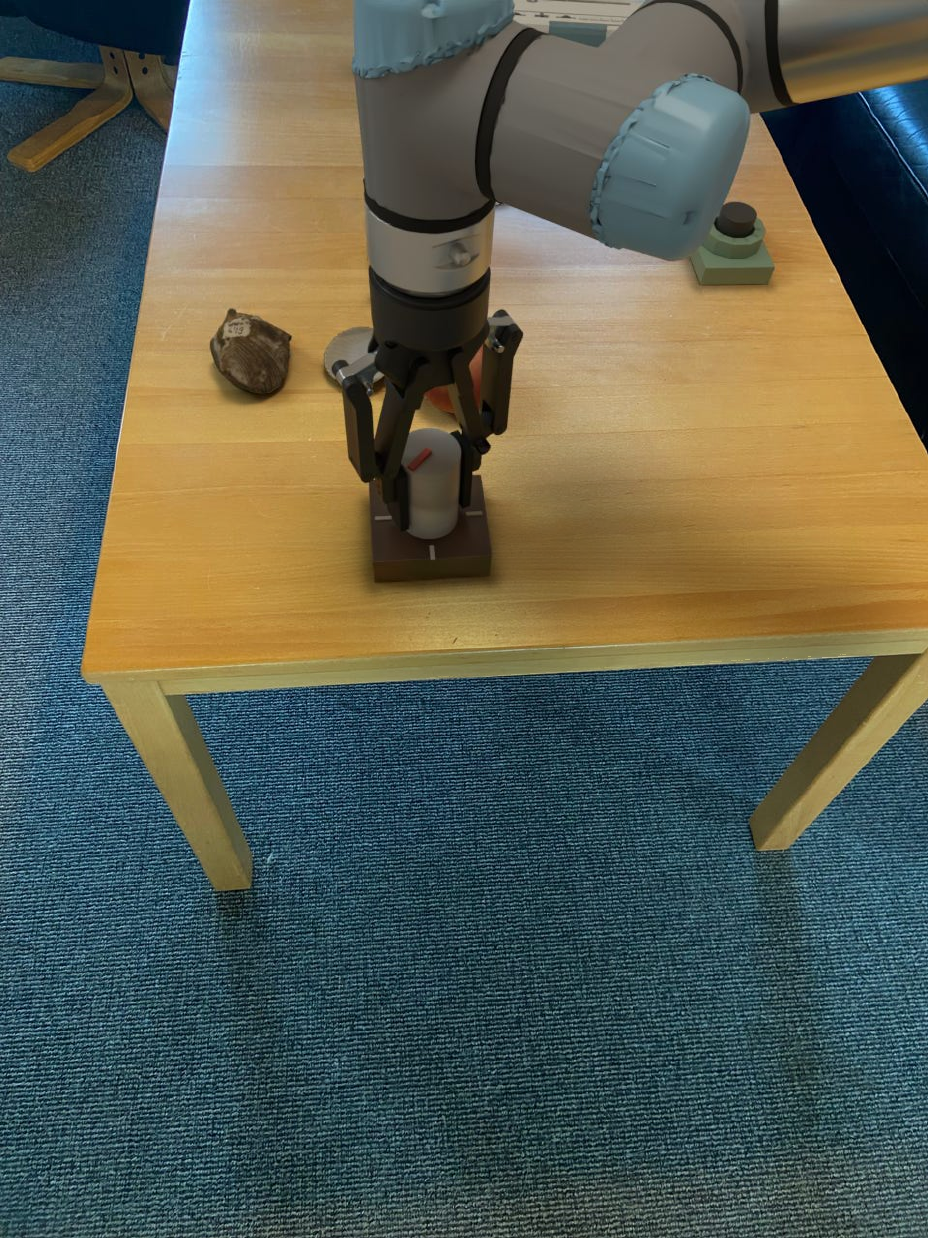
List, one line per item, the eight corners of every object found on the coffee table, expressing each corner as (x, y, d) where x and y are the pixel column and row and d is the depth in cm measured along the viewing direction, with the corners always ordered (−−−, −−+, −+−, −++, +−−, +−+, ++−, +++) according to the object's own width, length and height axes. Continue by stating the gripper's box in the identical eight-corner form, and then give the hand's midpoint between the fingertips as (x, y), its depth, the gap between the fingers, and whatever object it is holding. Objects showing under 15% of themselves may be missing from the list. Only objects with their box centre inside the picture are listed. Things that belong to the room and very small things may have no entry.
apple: (449, 359, 86) (451, 293, 79) (510, 395, 83) (517, 330, 77) (398, 400, 82) (395, 334, 76) (459, 439, 80) (462, 375, 73)
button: (755, 239, 93) (761, 222, 91) (720, 239, 93) (726, 222, 91) (745, 217, 95) (751, 200, 93) (711, 218, 95) (717, 201, 93)
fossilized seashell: (223, 307, 85) (190, 385, 81) (242, 271, 80) (207, 352, 76) (290, 345, 88) (261, 421, 84) (313, 312, 83) (283, 392, 79)
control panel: (479, 495, 76) (481, 472, 74) (490, 577, 72) (492, 555, 69) (370, 500, 76) (368, 477, 73) (374, 583, 71) (372, 562, 68)
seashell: (326, 363, 87) (333, 401, 82) (317, 336, 85) (324, 374, 80) (401, 342, 88) (413, 379, 82) (395, 315, 85) (406, 351, 80)
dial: (422, 485, 73) (422, 415, 66) (469, 511, 72) (474, 443, 64) (387, 520, 71) (383, 453, 64) (435, 549, 69) (436, 482, 62)
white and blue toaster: (484, 134, 109) (494, -50, 92) (485, 101, 113) (495, -80, 96) (642, 143, 109) (682, -39, 92) (637, 110, 114) (674, -69, 97)
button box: (768, 283, 95) (781, 252, 91) (700, 285, 94) (710, 253, 91) (745, 230, 100) (757, 199, 96) (681, 231, 99) (690, 199, 96)
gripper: (314, 342, 46) (347, 578, 66) (588, 259, 51) (543, 502, 71) (266, 265, 50) (312, 512, 69) (528, 194, 54) (500, 444, 74)
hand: (428, 507), depth 70 cm, fingers closed on dial, 5 cm apart
